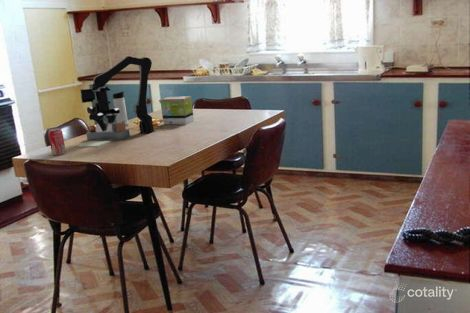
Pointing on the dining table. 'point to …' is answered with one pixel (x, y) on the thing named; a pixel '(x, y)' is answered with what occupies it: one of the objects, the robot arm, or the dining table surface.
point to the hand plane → (108, 133)
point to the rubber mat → (94, 144)
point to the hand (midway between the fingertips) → (107, 130)
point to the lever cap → (107, 127)
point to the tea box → (177, 110)
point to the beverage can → (56, 141)
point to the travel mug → (120, 108)
